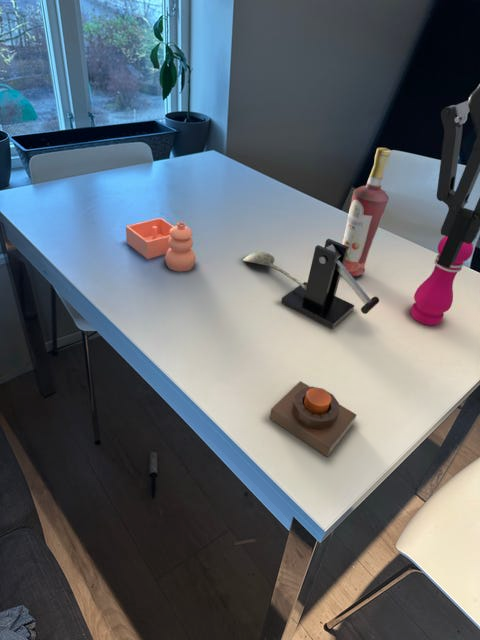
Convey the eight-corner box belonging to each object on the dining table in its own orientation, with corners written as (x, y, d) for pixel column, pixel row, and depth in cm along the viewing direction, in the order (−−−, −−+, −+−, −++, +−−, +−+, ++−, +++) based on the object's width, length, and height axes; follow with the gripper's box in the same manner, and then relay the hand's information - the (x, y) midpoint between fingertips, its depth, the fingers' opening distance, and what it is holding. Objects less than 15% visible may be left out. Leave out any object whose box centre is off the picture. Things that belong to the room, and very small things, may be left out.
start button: (333, 404, 65) (335, 396, 64) (320, 418, 63) (323, 410, 62) (312, 391, 67) (314, 383, 66) (299, 405, 64) (301, 396, 63)
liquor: (371, 276, 104) (410, 154, 87) (347, 283, 100) (384, 156, 83) (350, 261, 108) (383, 142, 92) (326, 267, 105) (357, 145, 88)
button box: (353, 424, 67) (360, 406, 65) (327, 457, 62) (333, 439, 60) (297, 390, 72) (302, 372, 69) (269, 418, 67) (273, 400, 64)
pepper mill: (410, 323, 90) (447, 233, 78) (405, 303, 96) (440, 217, 84) (446, 330, 90) (490, 240, 78) (439, 309, 95) (479, 223, 83)
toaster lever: (373, 305, 86) (382, 299, 84) (362, 316, 83) (371, 310, 81) (327, 248, 87) (335, 241, 85) (314, 257, 84) (322, 249, 82)
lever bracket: (353, 310, 92) (371, 250, 84) (331, 329, 86) (349, 267, 78) (303, 286, 97) (317, 228, 89) (280, 302, 91) (292, 242, 83)
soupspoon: (260, 256, 107) (237, 264, 104) (260, 243, 105) (237, 251, 102) (324, 294, 92) (300, 304, 89) (326, 279, 90) (301, 289, 87)
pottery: (126, 242, 105) (124, 202, 99) (160, 233, 110) (160, 195, 104) (170, 277, 95) (170, 235, 89) (205, 265, 100) (208, 225, 94)
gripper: (460, 27, 41) (385, 252, 56) (623, 51, 36) (493, 295, 50) (481, 28, 46) (407, 234, 61) (627, 49, 41) (507, 272, 55)
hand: (446, 262), depth 55 cm, fingers closed
